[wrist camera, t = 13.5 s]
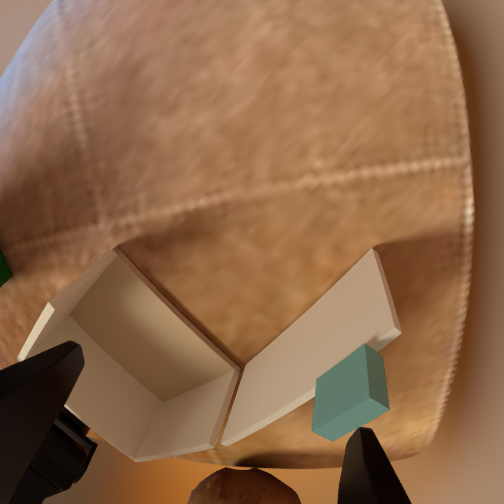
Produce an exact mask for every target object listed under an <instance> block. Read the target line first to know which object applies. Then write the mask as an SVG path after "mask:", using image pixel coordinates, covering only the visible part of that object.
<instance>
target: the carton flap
mask: <svg viewBox="0 0 504 504" xmlns="http://www.w3.org/2000/svg"><path fill="white" fill-rule="evenodd" d="M401 333H402V331H401V328H400V324H399V320H398V317H397V313H396V310H395V306H394V303H393V299H392V296H391V293H390V289H389V286H388V283H387V280H386V277H385V274H384V270H383V267H382V264H381V261H380V258H379V255H378V253H377V252H376V251H375V250H374V249H373V248H371V249H370V250H369V251H368V252H367V253H366V254H365V255H364V256H363V257H362V258H361V259H360V260H359V261H358V262H357V263H356V264H355V265H354V266H353V267H352V268H351V269H350V270H349V271H348V272H347V273H346V274H345V275H344V276H343V277H342V278H341V279H340V280H339V281H338V282H337V283H336V284H335V285H334V286H333V287H332V288H331V289H330V290H329V291H328V292H326V293H325V294H324V295H323V296H322V297H321V298H320V299H319V300H318V301H317V302H316V303H315V304H314V305H313V306H312V307H310V308H309V309H308V310H307V311H306V312H305V313H304V314H303V315H302V316H301V317H300V318H298V319H297V320H296V321H295V322H294V323H293V324H292V325H291V326H290V327H288V328H287V329H286V330H285V331H284V332H283V333H282V334H281V335H279V336H278V337H277V338H276V339H275V340H274V341H273V342H272V343H270V344H269V345H268V346H267V347H266V348H265V349H263V350H262V351H261V352H260V353H259V354H258V355H256V356H255V357H254V358H253V359H252V360H251V361H249V362H248V363H247V364H246V366H245V369H244V372H243V375H242V378H241V381H240V385H239V388H238V391H237V394H236V397H235V400H234V403H233V406H232V409H231V412H230V415H229V418H228V421H227V424H226V428H225V431H224V434H223V437H222V440H221V444H222V445H224V446H226V447H227V446H229V445H231V444H233V443H235V442H237V441H239V440H241V439H243V438H244V437H246V436H248V435H250V434H252V433H254V432H256V431H257V430H259V429H261V428H263V427H265V426H266V425H268V424H270V423H272V422H274V421H275V420H277V419H279V418H280V417H282V416H284V415H286V414H287V413H289V412H291V411H292V410H294V409H295V408H297V407H299V406H300V405H302V404H304V403H305V402H307V401H308V400H310V399H311V398H313V397H315V400H314V411H313V421H312V432H314V433H316V434H318V435H320V436H322V437H324V438H326V439H328V440H331V441H334V440H336V439H338V438H340V437H342V436H344V435H346V434H348V433H349V432H351V431H353V430H355V429H357V428H359V427H361V426H362V425H364V424H366V423H368V422H369V421H371V420H373V419H375V418H376V417H378V416H380V415H382V414H383V413H385V412H387V411H388V410H390V408H389V399H388V391H387V383H386V376H385V369H384V363H383V356H382V355H380V354H379V353H378V352H379V351H380V350H381V349H382V348H384V347H385V346H386V345H388V344H389V343H390V342H391V341H393V340H394V339H395V338H396V337H398V336H399V335H400V334H401Z"/></svg>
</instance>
